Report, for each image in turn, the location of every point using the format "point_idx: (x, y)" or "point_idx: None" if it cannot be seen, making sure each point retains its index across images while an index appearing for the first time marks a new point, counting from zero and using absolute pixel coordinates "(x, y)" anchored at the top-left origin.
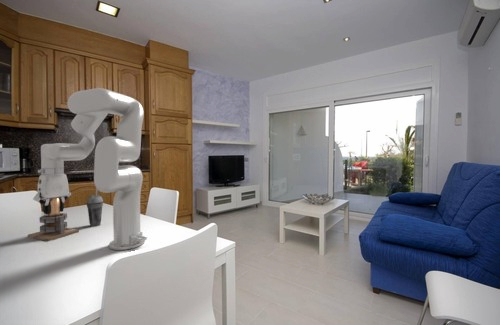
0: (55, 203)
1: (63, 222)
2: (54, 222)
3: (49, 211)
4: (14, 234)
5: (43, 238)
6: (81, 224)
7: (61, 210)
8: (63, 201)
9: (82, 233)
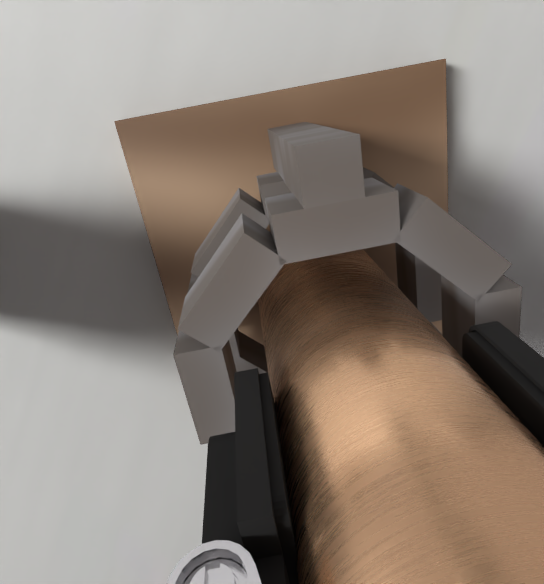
0: (493, 462)
1: (292, 135)
2: (355, 257)
3: (505, 345)
4: None
5: (444, 150)
6: (13, 399)
7: (266, 378)
8: (213, 582)
9: (109, 14)
